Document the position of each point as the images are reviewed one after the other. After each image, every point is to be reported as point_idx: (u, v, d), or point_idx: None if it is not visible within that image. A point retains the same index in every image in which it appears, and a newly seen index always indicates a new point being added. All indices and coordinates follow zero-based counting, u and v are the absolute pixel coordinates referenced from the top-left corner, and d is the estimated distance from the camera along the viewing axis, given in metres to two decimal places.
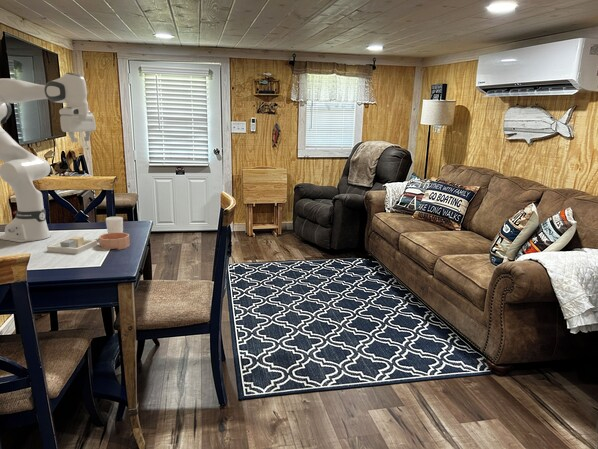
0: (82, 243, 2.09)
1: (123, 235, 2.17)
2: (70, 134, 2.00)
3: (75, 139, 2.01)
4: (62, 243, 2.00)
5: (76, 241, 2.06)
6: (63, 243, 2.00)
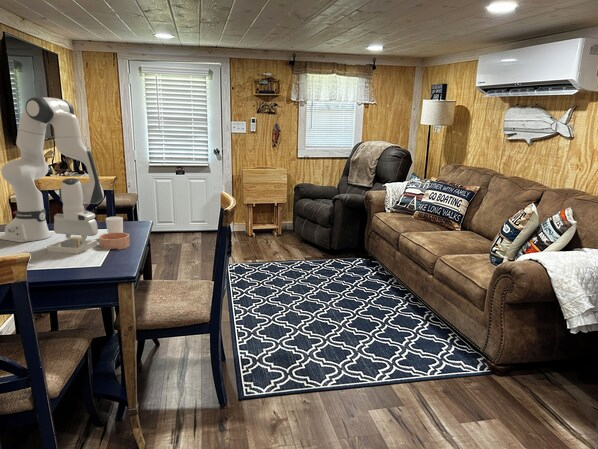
0: None
1: (123, 235, 2.17)
2: (85, 237, 2.06)
3: None
4: (62, 243, 2.00)
5: (76, 241, 2.06)
6: (63, 243, 2.00)
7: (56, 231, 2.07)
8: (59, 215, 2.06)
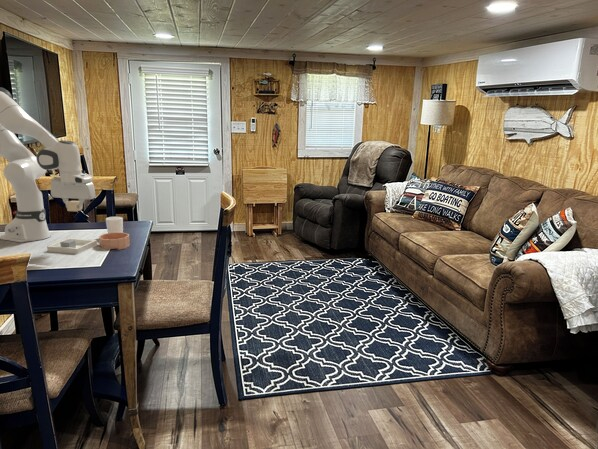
0: None
1: (123, 235, 2.17)
2: (82, 200, 2.02)
3: None
4: (62, 243, 2.00)
5: (73, 205, 2.02)
6: (63, 243, 2.00)
7: (53, 195, 2.02)
8: (56, 178, 2.02)
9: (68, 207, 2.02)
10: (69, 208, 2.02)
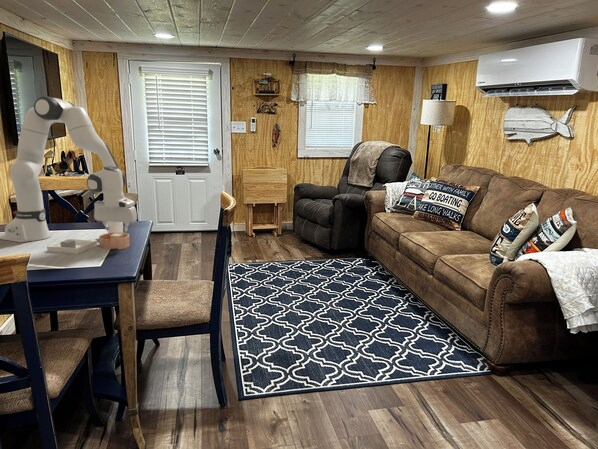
0: None
1: None
2: (127, 224, 2.11)
3: None
4: (62, 243, 2.00)
5: (117, 238, 2.11)
6: (63, 243, 2.00)
7: (96, 218, 2.11)
8: (99, 202, 2.10)
9: None
10: None
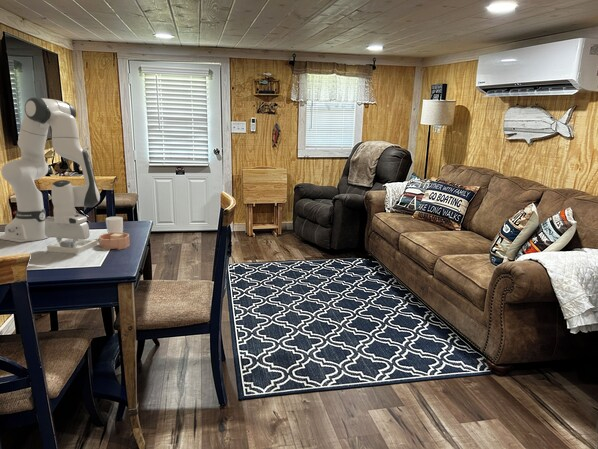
0: None
1: None
2: (76, 240, 2.01)
3: None
4: (62, 243, 2.00)
5: (117, 238, 2.11)
6: (63, 243, 2.00)
7: (47, 234, 2.01)
8: (50, 218, 2.00)
9: None
10: None
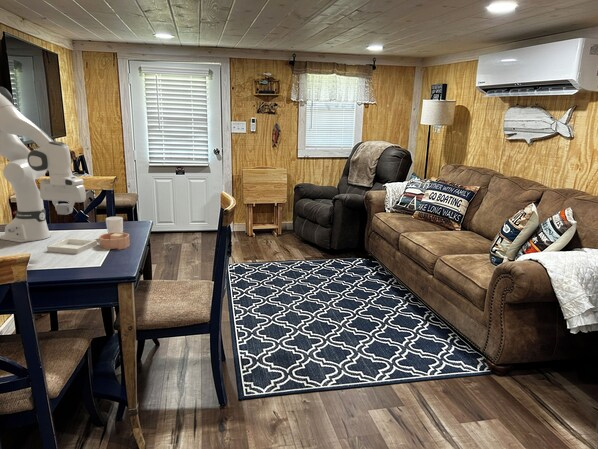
0: None
1: None
2: (72, 203, 1.97)
3: None
4: (58, 206, 1.96)
5: (117, 238, 2.11)
6: (59, 206, 1.96)
7: (42, 197, 1.97)
8: (45, 180, 1.96)
9: None
10: None
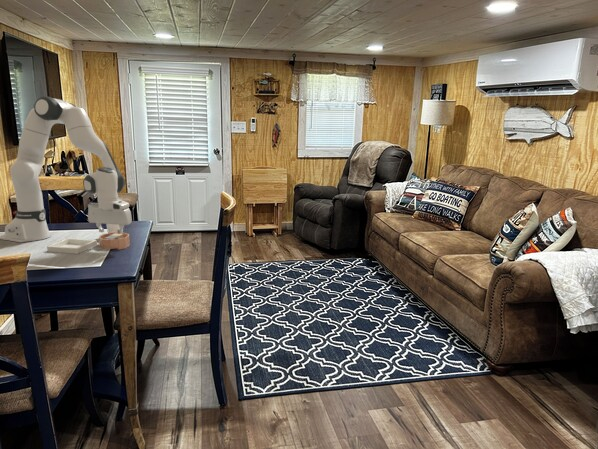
0: None
1: (123, 235, 2.17)
2: (122, 226, 2.06)
3: None
4: None
5: None
6: None
7: (90, 220, 2.07)
8: (93, 204, 2.06)
9: None
10: None
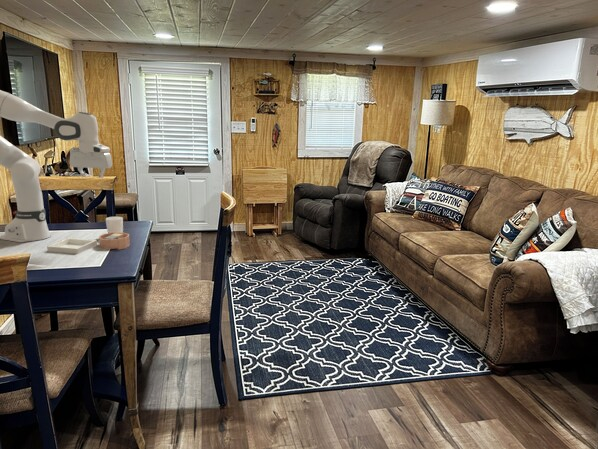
0: None
1: (123, 235, 2.17)
2: (103, 170, 2.12)
3: None
4: None
5: None
6: None
7: (72, 164, 2.13)
8: (75, 149, 2.12)
9: None
10: None
